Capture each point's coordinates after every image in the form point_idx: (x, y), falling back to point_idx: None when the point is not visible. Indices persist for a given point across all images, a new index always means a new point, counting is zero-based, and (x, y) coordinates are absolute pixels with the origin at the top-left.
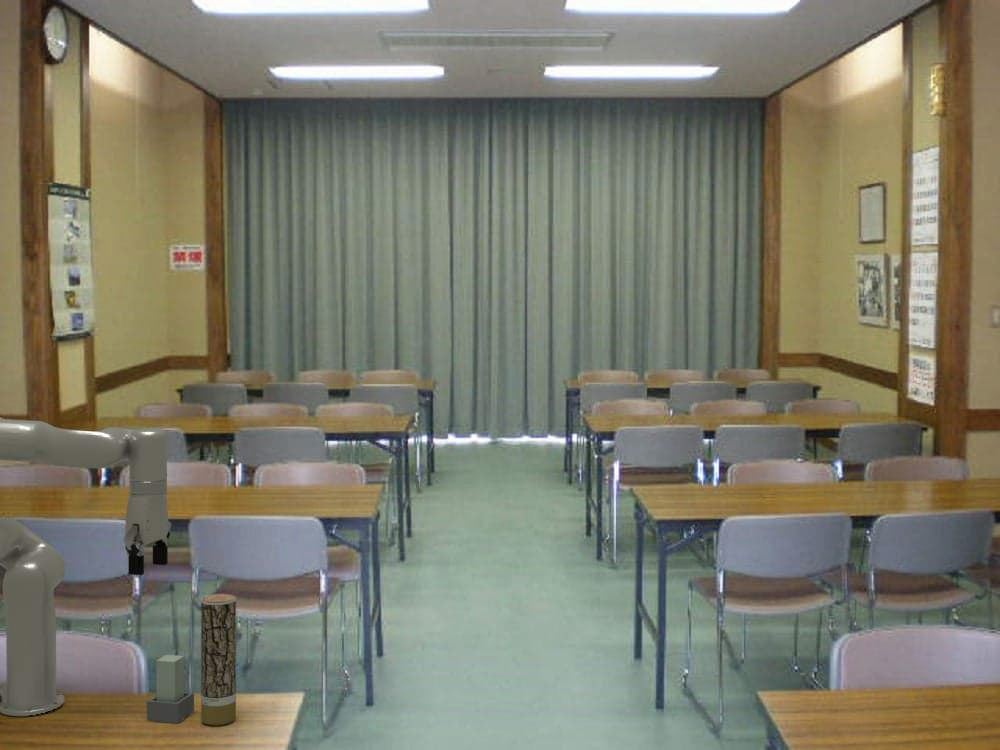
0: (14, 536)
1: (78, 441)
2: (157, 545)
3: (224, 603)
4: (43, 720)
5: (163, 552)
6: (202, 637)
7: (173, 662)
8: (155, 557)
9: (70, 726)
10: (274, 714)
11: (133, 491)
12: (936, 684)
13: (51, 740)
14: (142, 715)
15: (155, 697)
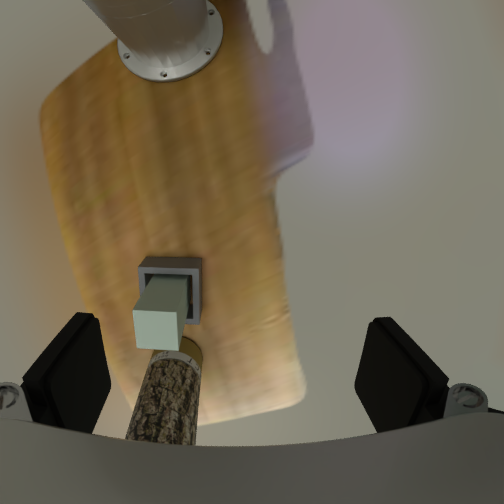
0: None
1: None
2: (423, 417)
3: None
4: (113, 92)
5: (380, 425)
6: (128, 434)
7: (137, 344)
8: (383, 356)
9: (97, 150)
10: (222, 405)
11: None
12: None
13: (47, 160)
14: (167, 237)
15: (159, 272)
